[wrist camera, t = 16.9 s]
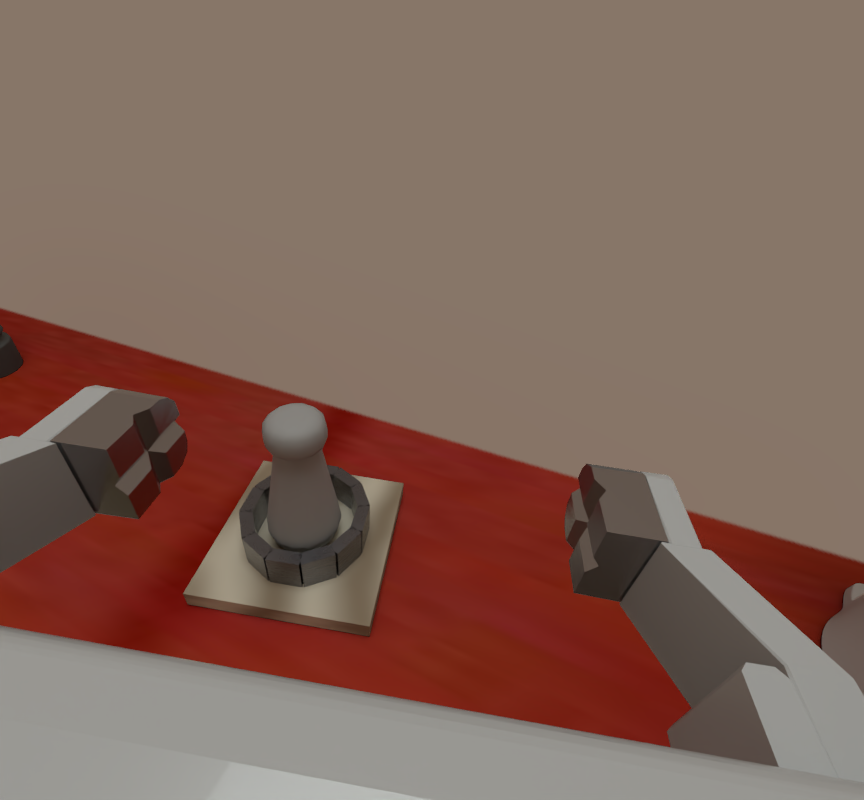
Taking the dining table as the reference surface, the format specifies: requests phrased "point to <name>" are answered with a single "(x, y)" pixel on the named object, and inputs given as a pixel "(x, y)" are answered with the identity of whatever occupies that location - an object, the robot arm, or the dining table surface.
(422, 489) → the dining table surface
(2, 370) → the candle holder
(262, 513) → the metal collar
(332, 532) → the salt shaker
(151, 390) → the dining table surface
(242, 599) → the birch stand
